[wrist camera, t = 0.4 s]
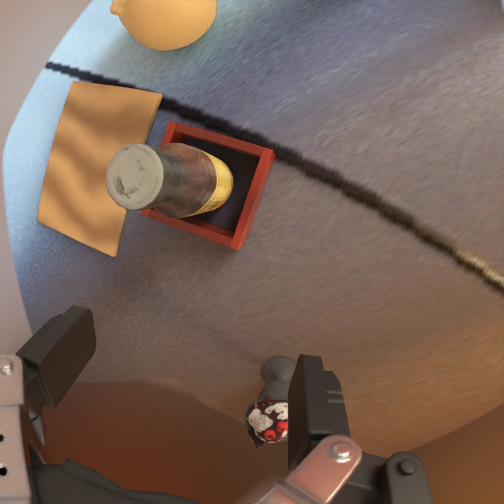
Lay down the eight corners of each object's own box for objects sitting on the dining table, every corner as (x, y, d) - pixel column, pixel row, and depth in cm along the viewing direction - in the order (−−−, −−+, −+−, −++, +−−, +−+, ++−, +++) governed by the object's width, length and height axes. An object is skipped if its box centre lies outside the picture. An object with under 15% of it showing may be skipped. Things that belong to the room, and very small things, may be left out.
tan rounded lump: (197, -21, 31) (172, -64, 20) (239, 27, 32) (220, -19, 22) (130, 22, 33) (91, -10, 23) (163, 74, 34) (122, 43, 24)
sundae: (301, 347, 39) (300, 424, 24) (309, 388, 40) (309, 469, 25) (251, 354, 40) (227, 430, 25) (261, 394, 41) (244, 473, 26)
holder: (181, 127, 36) (168, 120, 32) (275, 155, 35) (273, 150, 31) (154, 211, 38) (140, 214, 34) (244, 244, 37) (238, 250, 33)
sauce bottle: (184, 208, 37) (81, 227, 18) (187, 157, 36) (85, 130, 17) (237, 211, 37) (172, 234, 17) (240, 158, 35) (178, 122, 16)
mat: (76, 82, 36) (72, 81, 35) (163, 95, 35) (160, 93, 34) (40, 220, 41) (36, 220, 40) (116, 256, 40) (113, 257, 39)
